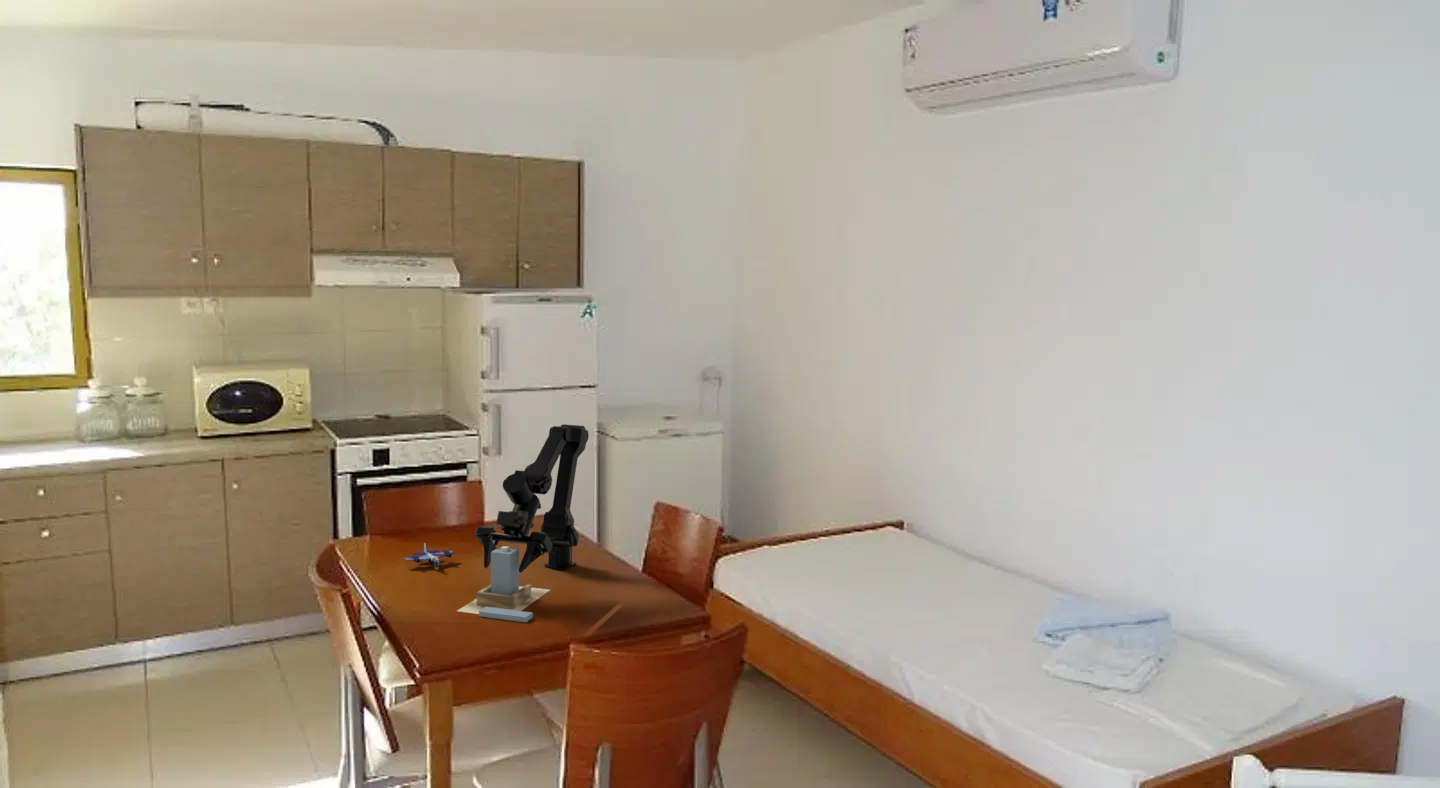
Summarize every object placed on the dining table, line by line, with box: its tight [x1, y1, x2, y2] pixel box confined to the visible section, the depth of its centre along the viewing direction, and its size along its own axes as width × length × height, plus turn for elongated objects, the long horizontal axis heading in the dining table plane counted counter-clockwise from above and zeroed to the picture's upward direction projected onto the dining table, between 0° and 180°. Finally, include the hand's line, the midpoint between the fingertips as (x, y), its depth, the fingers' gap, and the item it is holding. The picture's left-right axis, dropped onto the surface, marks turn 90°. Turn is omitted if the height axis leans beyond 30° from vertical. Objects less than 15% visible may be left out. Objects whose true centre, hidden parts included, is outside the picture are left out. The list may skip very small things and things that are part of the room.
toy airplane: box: [404, 542, 456, 571], centre depth 280 cm, size 13×14×4 cm
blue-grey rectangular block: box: [490, 545, 520, 596], centre depth 251 cm, size 5×5×13 cm
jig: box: [456, 583, 551, 615], centre depth 252 cm, size 22×14×4 cm, turn 165°
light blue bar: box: [478, 607, 534, 623], centre depth 240 cm, size 12×4×1 cm, turn 75°
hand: (502, 569), depth 250 cm, fingers open, 9 cm apart
